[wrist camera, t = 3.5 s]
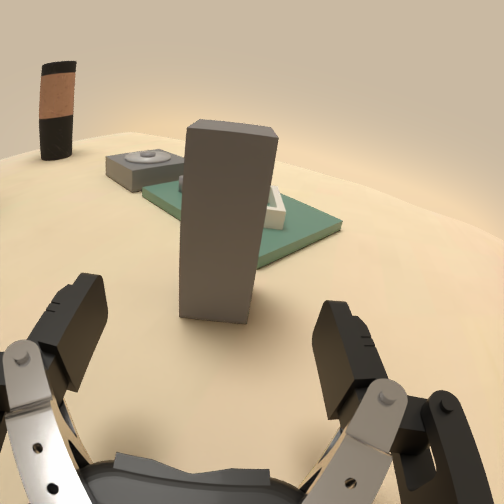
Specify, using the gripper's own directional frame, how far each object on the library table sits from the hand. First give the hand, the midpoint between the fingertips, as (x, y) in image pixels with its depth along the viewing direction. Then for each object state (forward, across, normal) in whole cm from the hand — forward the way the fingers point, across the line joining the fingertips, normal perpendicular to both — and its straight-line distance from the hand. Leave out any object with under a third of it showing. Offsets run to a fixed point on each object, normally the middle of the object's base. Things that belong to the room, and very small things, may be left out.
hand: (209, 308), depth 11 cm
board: (+26, -2, +7) cm, 27 cm away
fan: (+36, +13, +7) cm, 39 cm away
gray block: (+9, 0, +7) cm, 11 cm away
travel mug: (+48, +37, +7) cm, 61 cm away
